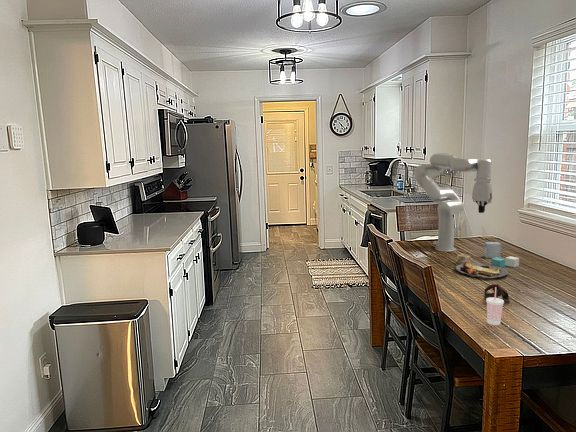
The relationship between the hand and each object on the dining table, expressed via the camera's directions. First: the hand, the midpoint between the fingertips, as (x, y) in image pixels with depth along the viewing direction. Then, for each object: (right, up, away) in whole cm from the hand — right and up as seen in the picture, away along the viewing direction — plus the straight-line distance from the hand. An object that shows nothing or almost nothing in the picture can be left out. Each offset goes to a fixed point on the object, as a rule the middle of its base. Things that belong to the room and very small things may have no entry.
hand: (481, 212), depth 251 cm
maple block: (-13, -29, -6) cm, 32 cm away
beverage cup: (-34, -43, -86) cm, 102 cm away
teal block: (+3, -30, -14) cm, 33 cm away
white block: (+11, -29, -12) cm, 34 cm away
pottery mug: (-21, -39, -63) cm, 77 cm away
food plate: (-11, -32, -24) cm, 42 cm away
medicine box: (+9, -27, +5) cm, 29 cm away
